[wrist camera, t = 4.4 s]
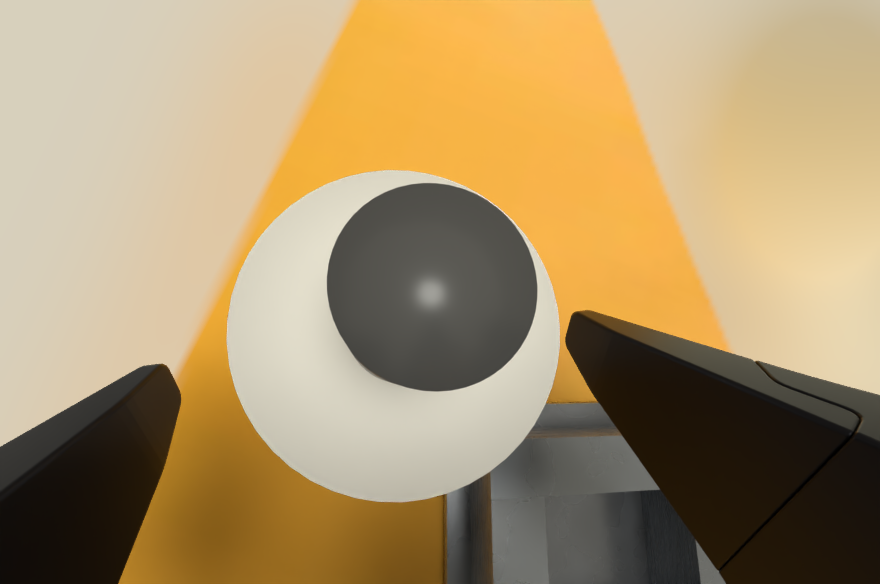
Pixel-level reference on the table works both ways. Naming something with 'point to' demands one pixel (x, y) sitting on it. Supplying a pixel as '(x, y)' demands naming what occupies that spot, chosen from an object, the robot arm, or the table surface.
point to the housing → (569, 513)
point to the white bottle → (393, 336)
